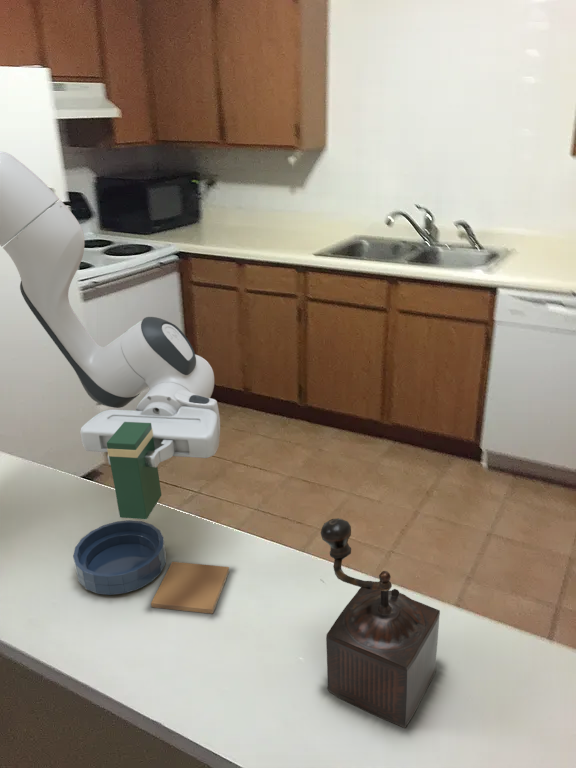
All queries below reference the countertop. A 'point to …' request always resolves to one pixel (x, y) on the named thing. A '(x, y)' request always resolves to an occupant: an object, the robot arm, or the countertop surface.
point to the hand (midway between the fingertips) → (131, 461)
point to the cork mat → (191, 587)
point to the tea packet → (133, 470)
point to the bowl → (120, 557)
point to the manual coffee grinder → (379, 642)
